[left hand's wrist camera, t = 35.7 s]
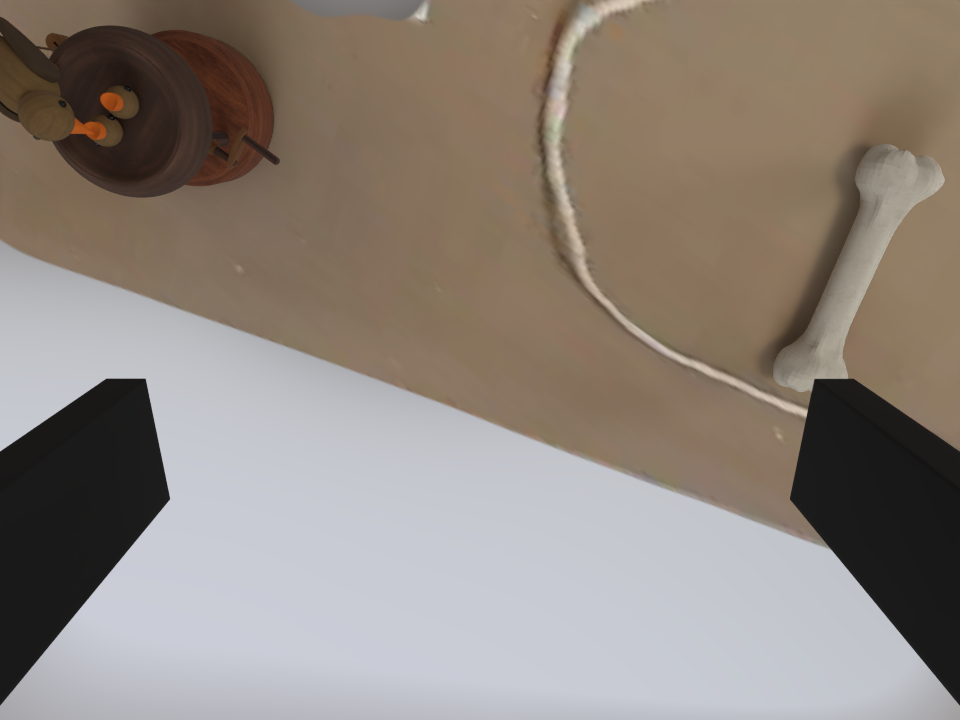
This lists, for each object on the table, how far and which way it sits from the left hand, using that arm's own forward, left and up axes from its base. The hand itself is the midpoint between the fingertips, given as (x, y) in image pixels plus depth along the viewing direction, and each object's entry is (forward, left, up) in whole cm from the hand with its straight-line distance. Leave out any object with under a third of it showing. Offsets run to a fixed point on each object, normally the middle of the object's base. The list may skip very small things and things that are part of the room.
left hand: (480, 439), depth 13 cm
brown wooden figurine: (-21, -4, -41) cm, 46 cm away
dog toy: (+29, +9, -41) cm, 51 cm away
